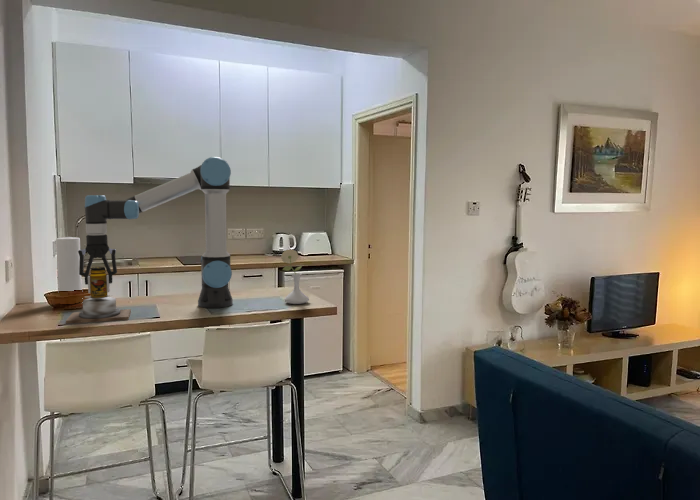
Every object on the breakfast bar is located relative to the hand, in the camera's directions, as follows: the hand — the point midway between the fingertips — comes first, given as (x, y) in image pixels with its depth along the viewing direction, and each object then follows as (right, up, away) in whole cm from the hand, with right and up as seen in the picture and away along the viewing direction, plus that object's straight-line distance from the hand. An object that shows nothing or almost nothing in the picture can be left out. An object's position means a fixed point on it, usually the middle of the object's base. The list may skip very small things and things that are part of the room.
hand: (99, 292), depth 210 cm
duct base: (0, -10, +1) cm, 10 cm away
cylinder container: (-27, -8, +30) cm, 41 cm away
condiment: (0, -2, 0) cm, 2 cm away
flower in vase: (+75, -8, +32) cm, 82 cm away
